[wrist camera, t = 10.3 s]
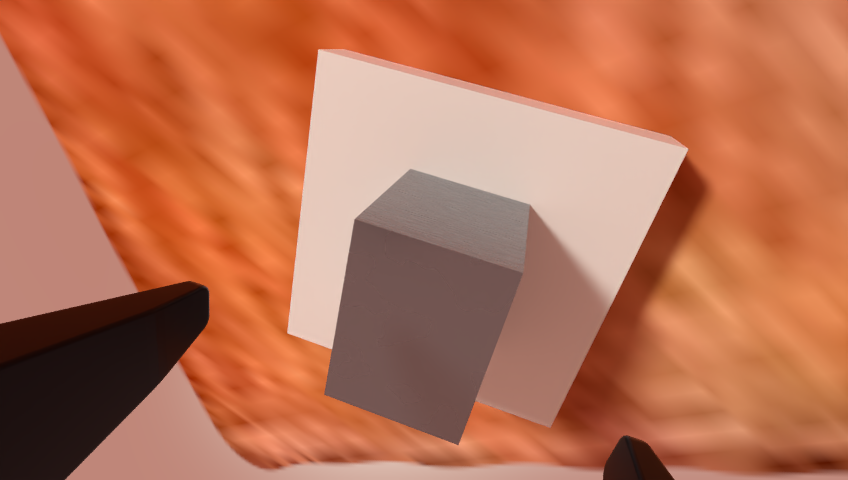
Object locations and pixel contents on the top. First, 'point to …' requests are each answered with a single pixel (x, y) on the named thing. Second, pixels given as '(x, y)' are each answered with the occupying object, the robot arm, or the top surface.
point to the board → (492, 172)
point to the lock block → (426, 301)
